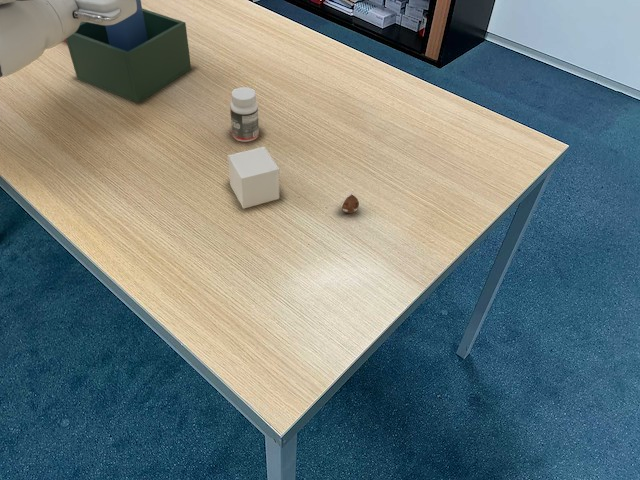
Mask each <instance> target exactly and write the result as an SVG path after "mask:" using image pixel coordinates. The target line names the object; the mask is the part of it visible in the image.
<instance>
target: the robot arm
mask: <svg viewBox="0 0 640 480" xmlns="http://www.w3.org/2000/svg"><path fill="white" fill-rule="evenodd" d="M136 11H137V4H136V0H0V78H5V77H9V76H11V75H13V74H15V73H17V72H19V71H20V70H23V69H24V68H26V67H28V66H30V65H31V64H33V63H34V62H35V61H37V60H39V58H41V56H43V54H44V52H45V51H46V50H49V49H52V48H55V47H56V46H58V45H59V44H61V43H62V42H65V41H64V40H65V39H66V38H68V37H69V36H71V35H72V34H73V33H75V32H76V31H77V30H78V28H79V25H80V21H83V22H88V23H94V24H99V25H113V24H116V23H118V22H120V21H122V20H124V19H126V18H128V17H130V16H131V15H133V14H134V13H135V12H136Z"/></svg>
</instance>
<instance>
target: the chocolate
mask: <svg viewBox="0 0 640 480" xmlns="http://www.w3.org/2000/svg"><path fill="white" fill-rule="evenodd" d="M355 191H356V189H353V190H351V191H350V192H347V193H346V198H345V199H344V201H343V202H342V203H341V206H340V210H341V212H343V213H346V214H353V213H354V212H356V211H358V210H359V206H360V201H359V199H358V197H356V196H355V195H353V194H354V193H355Z"/></svg>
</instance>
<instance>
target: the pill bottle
mask: <svg viewBox="0 0 640 480" xmlns="http://www.w3.org/2000/svg"><path fill="white" fill-rule="evenodd" d="M229 109H230V110H229V111H230V124H231V125H230V127H231V135H232V137H233V138H234V139H235V140H236V141H238V142H244V143H246V142H247V143H248V142H252V141H254V140H256V139H257V138H258V137H259V134H260V130H259V129H260V127H259V126H260V125H259V104H258V101H257V93H256V91H255V90H254V88H251V87H248V86H247V87H246V86H240V87H237V88H235V89H233V90H232V92H231V101H230V103H229Z"/></svg>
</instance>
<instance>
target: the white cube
mask: <svg viewBox="0 0 640 480" xmlns="http://www.w3.org/2000/svg"><path fill="white" fill-rule="evenodd" d="M227 162H228V175H229V186H230V187H231V189H232V191H233V193H234V194H235V197H236V198H237V200H238V202H239V203H240V205H241V207H242V209H243V210H244V209H247V208H251V207H255V206H259V205H262V204H265V203H269V202H273V201H276V200H280V168H279V166H278V165H277V163H276V161H275V160H274V158H273V157H272V156H271V154H270V153H269V151H268V149H266V147H265V146H262V147H257V148H252V149H249V150H244V151H240V152H235V153H231V154H228V155H227Z"/></svg>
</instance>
